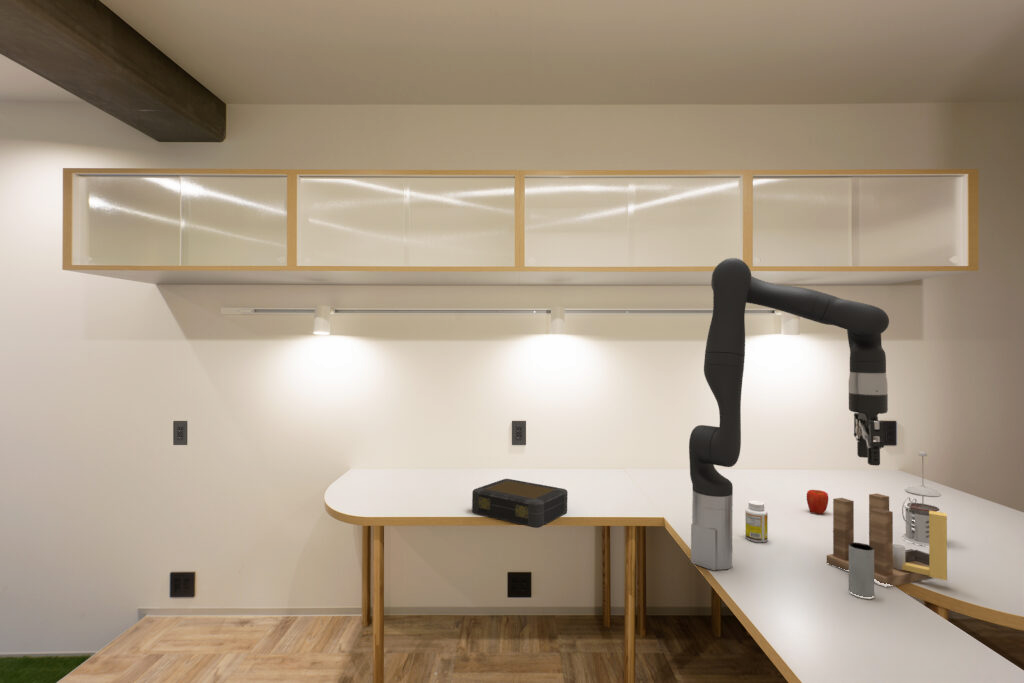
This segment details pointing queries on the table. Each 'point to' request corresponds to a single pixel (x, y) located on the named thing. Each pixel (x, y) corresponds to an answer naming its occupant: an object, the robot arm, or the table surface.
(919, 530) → the french press
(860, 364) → the robot arm
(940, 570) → the hinged leg
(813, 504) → the apple
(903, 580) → the wooden pillar stand
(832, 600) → the table surface
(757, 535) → the supplement bottle
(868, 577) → the grey tube
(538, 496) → the black carrying case
